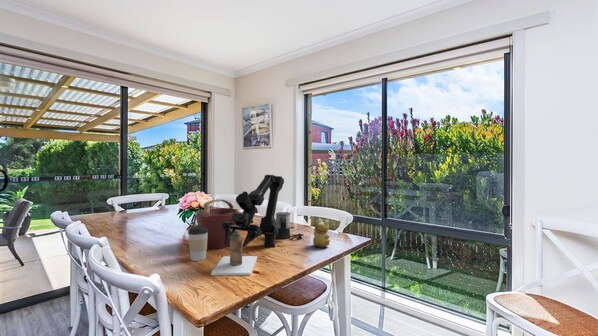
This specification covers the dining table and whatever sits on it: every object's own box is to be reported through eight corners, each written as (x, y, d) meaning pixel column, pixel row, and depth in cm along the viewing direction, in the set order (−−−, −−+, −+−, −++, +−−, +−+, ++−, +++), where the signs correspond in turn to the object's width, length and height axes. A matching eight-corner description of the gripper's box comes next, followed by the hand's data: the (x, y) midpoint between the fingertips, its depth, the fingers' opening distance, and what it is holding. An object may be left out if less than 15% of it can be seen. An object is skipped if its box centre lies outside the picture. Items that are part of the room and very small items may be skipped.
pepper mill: (237, 260, 128) (237, 229, 127) (244, 263, 124) (244, 231, 124) (227, 263, 124) (227, 231, 123) (234, 266, 120) (234, 233, 120)
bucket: (210, 254, 139) (210, 204, 139) (185, 246, 152) (185, 200, 152) (247, 243, 159) (247, 199, 158) (222, 236, 172) (222, 195, 171)
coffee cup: (188, 256, 136) (188, 225, 136) (207, 254, 139) (207, 224, 139) (187, 262, 128) (187, 229, 127) (208, 260, 131) (208, 228, 131)
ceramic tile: (223, 258, 134) (223, 256, 134) (257, 258, 134) (257, 256, 134) (210, 275, 114) (210, 272, 114) (250, 275, 114) (250, 272, 114)
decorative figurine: (332, 246, 153) (332, 219, 153) (325, 250, 146) (325, 221, 146) (316, 243, 158) (316, 217, 158) (309, 247, 151) (309, 219, 151)
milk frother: (273, 236, 174) (273, 212, 173) (296, 233, 180) (296, 210, 180) (281, 242, 161) (281, 216, 160) (306, 239, 167) (306, 214, 167)
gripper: (223, 204, 130) (207, 233, 120) (259, 206, 123) (245, 238, 113) (233, 218, 138) (219, 246, 128) (267, 221, 131) (255, 251, 121)
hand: (234, 245), depth 122 cm, fingers open, 9 cm apart
